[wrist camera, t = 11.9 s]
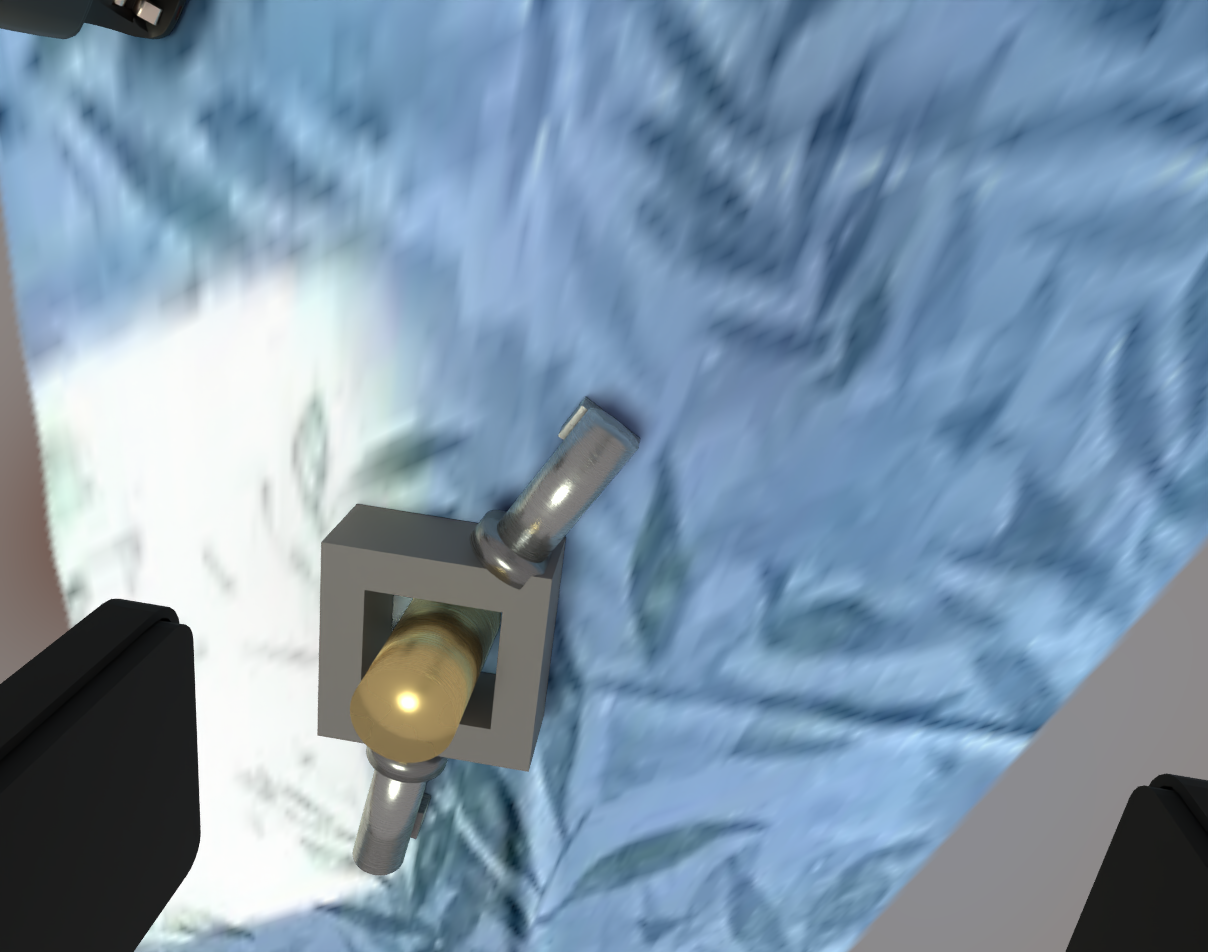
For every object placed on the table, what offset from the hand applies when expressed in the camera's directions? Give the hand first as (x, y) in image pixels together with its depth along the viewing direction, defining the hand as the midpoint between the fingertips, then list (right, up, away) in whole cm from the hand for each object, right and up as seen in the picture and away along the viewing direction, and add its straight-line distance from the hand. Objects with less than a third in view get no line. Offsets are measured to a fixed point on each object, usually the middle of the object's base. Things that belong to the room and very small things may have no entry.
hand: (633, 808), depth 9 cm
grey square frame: (-7, -3, +32) cm, 33 cm away
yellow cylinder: (-7, -3, +32) cm, 33 cm away
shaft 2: (-2, +3, +29) cm, 29 cm away
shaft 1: (-10, -11, +35) cm, 38 cm away
